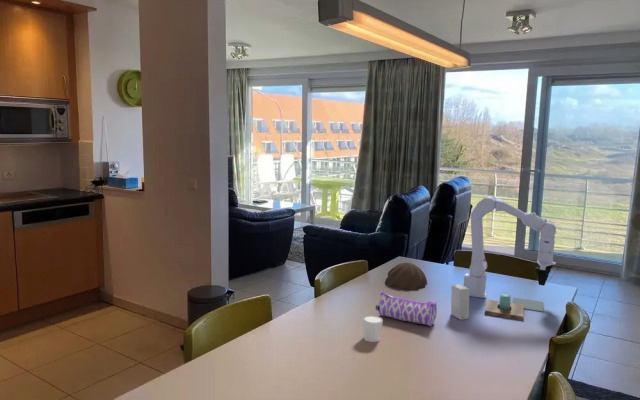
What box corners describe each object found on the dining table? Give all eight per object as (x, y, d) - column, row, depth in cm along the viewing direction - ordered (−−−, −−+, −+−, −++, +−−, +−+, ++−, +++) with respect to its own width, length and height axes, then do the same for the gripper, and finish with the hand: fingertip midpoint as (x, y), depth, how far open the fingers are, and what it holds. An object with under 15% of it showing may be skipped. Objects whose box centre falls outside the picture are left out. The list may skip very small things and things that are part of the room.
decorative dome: (385, 276, 234) (385, 256, 233) (425, 278, 231) (426, 258, 230) (385, 288, 215) (385, 267, 214) (429, 291, 212) (430, 270, 211)
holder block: (484, 314, 186) (484, 310, 186) (487, 302, 199) (487, 299, 199) (523, 320, 181) (523, 316, 181) (522, 308, 194) (523, 304, 193)
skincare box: (468, 318, 181) (471, 288, 179) (459, 320, 180) (461, 289, 178) (459, 312, 187) (461, 283, 185) (449, 314, 185) (451, 284, 184)
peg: (498, 312, 189) (499, 296, 188) (499, 308, 193) (500, 293, 192) (509, 313, 187) (510, 298, 186) (509, 310, 191) (510, 295, 190)
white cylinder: (369, 344, 157) (369, 324, 156) (358, 336, 163) (358, 317, 162) (386, 340, 160) (386, 321, 159) (374, 332, 166) (375, 314, 165)
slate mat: (512, 307, 194) (512, 306, 194) (512, 298, 205) (513, 297, 205) (544, 312, 190) (544, 311, 190) (543, 302, 201) (543, 301, 201)
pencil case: (374, 317, 180) (375, 294, 179) (383, 310, 189) (384, 287, 187) (431, 330, 170) (433, 305, 169) (438, 321, 178) (439, 297, 177)
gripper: (554, 256, 186) (551, 289, 188) (558, 248, 198) (555, 279, 200) (535, 253, 189) (532, 285, 191) (540, 246, 202) (537, 276, 204)
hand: (542, 282), depth 196 cm, fingers open, 7 cm apart
